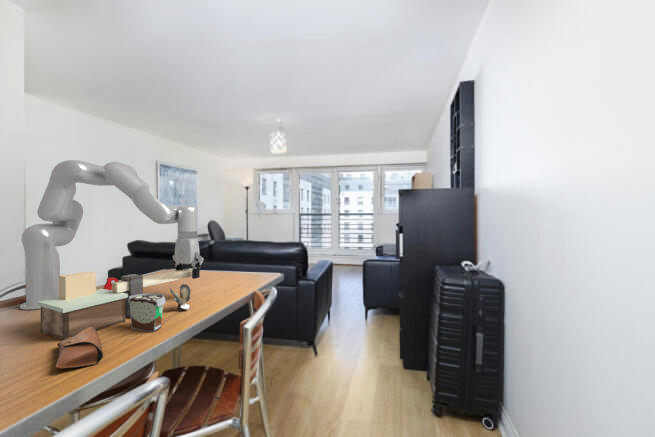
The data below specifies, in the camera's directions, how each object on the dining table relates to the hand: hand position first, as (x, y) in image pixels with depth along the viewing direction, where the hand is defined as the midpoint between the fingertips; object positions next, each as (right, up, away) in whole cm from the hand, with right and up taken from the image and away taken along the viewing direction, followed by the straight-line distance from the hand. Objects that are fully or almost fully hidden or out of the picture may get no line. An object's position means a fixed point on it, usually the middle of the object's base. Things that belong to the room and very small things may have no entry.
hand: (187, 276), depth 121 cm
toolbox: (-16, -10, -27) cm, 33 cm away
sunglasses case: (-5, -11, -50) cm, 51 cm away
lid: (-18, -2, -30) cm, 35 cm away
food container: (+3, -10, -30) cm, 32 cm away
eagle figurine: (+4, -10, -14) cm, 17 cm away
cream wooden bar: (-6, 0, -12) cm, 13 cm away
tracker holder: (-28, -9, -3) cm, 30 cm away
